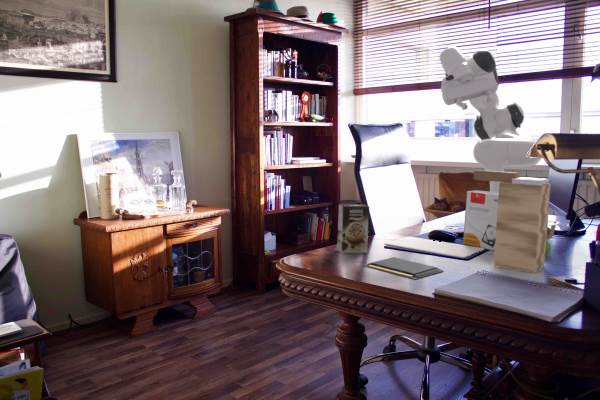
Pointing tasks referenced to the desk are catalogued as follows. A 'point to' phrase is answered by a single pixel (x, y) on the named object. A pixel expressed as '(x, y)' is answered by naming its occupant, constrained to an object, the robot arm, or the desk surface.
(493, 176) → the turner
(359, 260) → the desk surface
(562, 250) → the desk surface
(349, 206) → the cookie box
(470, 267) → the desk surface
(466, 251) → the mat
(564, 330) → the desk surface
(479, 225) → the hard drive box
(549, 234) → the snail figurine
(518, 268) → the stand
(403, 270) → the grey book
